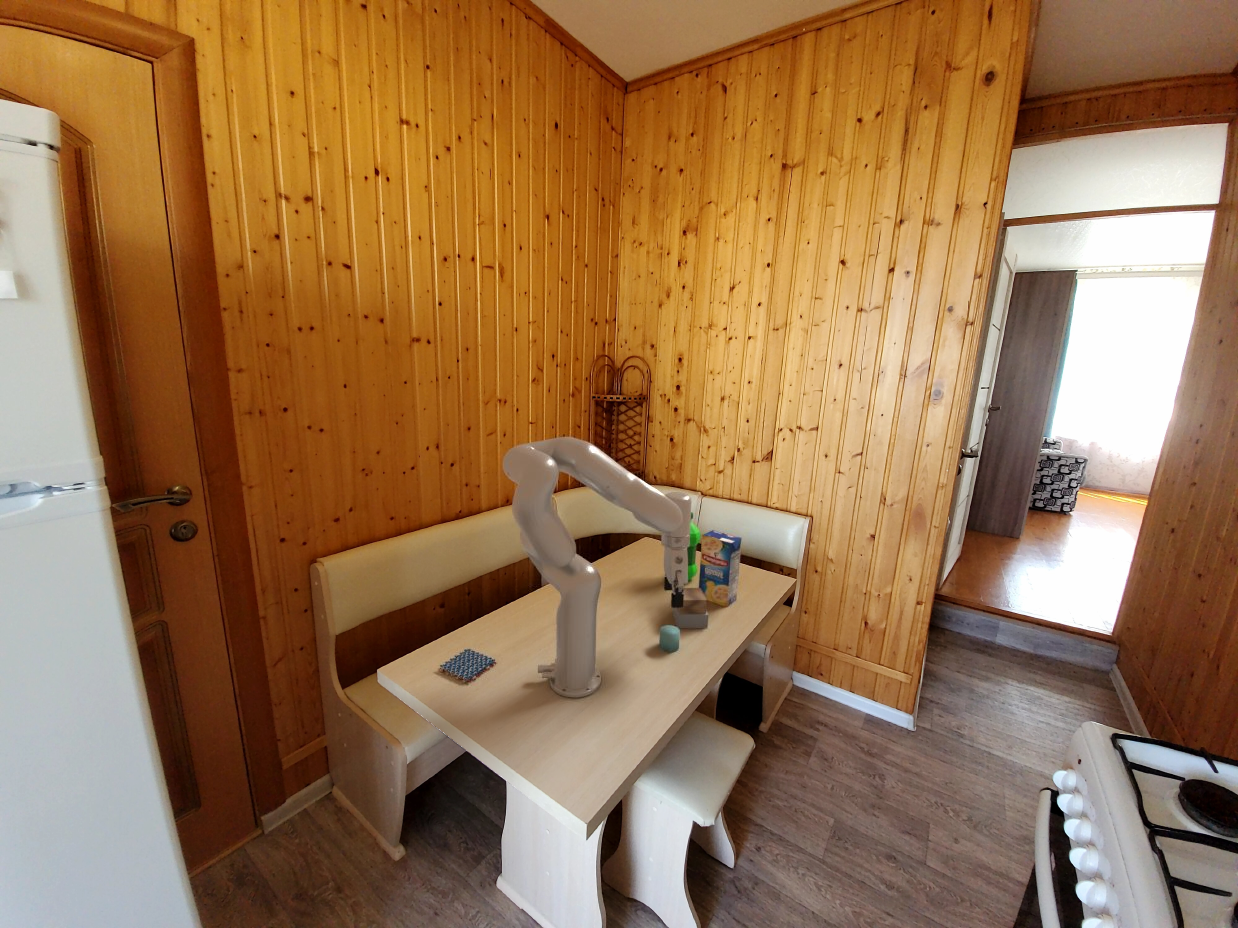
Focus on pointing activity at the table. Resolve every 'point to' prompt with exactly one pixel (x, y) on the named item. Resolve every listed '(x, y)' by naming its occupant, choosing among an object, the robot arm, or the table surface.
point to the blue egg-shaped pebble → (669, 638)
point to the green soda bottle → (692, 549)
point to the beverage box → (719, 567)
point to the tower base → (690, 620)
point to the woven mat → (468, 665)
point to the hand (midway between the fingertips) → (673, 598)
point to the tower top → (693, 602)
